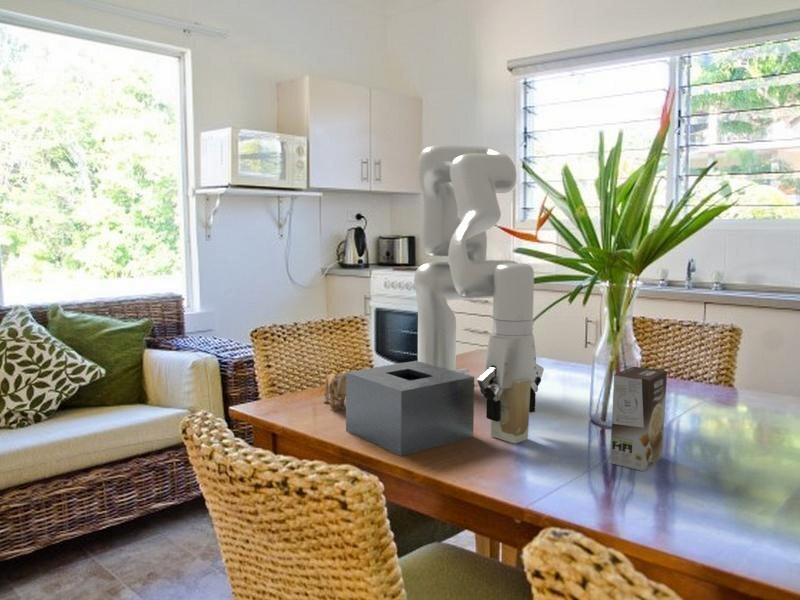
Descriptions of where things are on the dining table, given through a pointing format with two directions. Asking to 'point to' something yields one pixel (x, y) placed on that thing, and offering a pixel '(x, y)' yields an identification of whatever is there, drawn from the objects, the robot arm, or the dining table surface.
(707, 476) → the dining table surface
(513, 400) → the skincare box
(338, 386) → the tan spotted animal figure
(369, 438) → the box
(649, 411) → the coffee box
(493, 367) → the robot arm
